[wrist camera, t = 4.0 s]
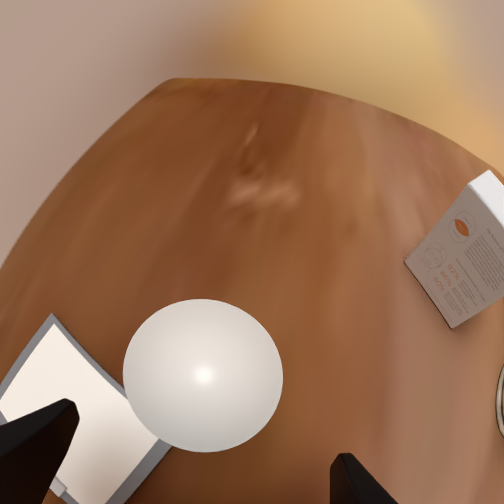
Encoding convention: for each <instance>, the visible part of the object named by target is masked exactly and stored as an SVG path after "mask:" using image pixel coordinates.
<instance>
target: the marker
mask: <svg viewBox="0 0 504 504" xmlns="http://www.w3.org/2000/svg"><path fill="white" fill-rule="evenodd" d="M123 382H124V387H125V392H126V395H127V398H128V401H129V404H130V406H131V408H132V410H133V412H134V413H135V415H136V416H137V418H138V419H139V420H140V422H141V423H142V424H143V425H144V426H145V427H146V428H147V429H148V430H149V431H150V432H151V433H152V434H154V435H155V436H156V437H158V438H159V439H161V440H162V441H164V442H166V443H168V444H170V445H172V446H175V447H178V448H181V449H184V450H189V451H194V452H216V451H221V450H226V449H229V448H232V447H235V446H238V445H240V444H242V443H244V442H246V441H247V440H249V439H250V438H252V437H253V436H254V435H256V434H257V433H258V432H259V431H260V430H261V429H262V428H263V427H264V426H265V425H266V424H267V422H268V421H269V420H270V418H271V417H272V415H273V413H274V411H275V410H276V407H277V405H278V402H279V399H280V395H281V391H282V383H283V372H282V365H281V360H280V356H279V353H278V350H277V348H276V346H275V344H274V342H273V340H272V339H271V337H270V335H269V334H268V332H267V331H266V330H265V329H264V328H263V326H262V325H261V324H260V323H259V322H257V321H256V320H255V319H254V318H253V317H252V316H250V315H249V314H247V313H246V312H244V311H243V310H241V309H239V308H237V307H235V306H232V305H230V304H227V303H223V302H220V301H215V300H207V299H195V300H187V301H182V302H178V303H175V304H172V305H169V306H167V307H165V308H163V309H161V310H159V311H158V312H156V313H155V314H153V315H152V316H151V317H150V318H148V319H147V320H146V321H145V322H144V323H143V324H142V325H141V326H140V327H139V329H138V330H137V332H136V333H135V334H134V336H133V338H132V340H131V342H130V343H129V346H128V349H127V351H126V355H125V359H124V366H123Z"/></svg>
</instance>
